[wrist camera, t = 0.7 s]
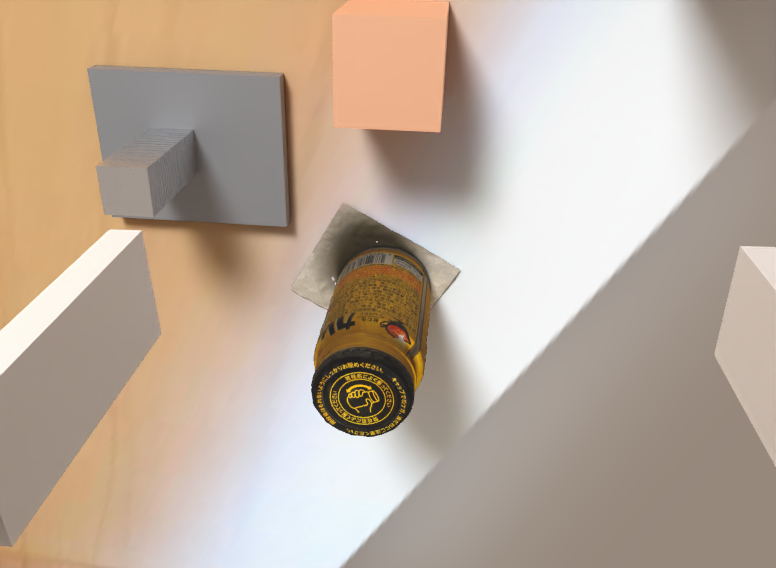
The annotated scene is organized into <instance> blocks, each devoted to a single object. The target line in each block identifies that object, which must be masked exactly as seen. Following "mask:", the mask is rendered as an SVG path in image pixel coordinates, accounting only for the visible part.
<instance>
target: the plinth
mask: <svg viewBox="0 0 776 568" xmlns="http://www.w3.org/2000/svg"><path fill="white" fill-rule="evenodd" d="M87 70H88V76H89V82H90V88H91V94H92V100H93V105H94V111H95V117H96V123H97V129H98V135H99V141H100V147H101V153H102V159H103V160H105V159H106V158H107V157H109V156H110V155H112V154H113V153H114V152H116V151H117V150H119V149H120V148H122V147H123V146H124V145H126V144H127V143H129V142H130V141H131V140H133V139H134V138H136V137H137V136H138V135H140V134H141V133H143V132H144V131H146V130H147V129H148V128H150V127H153V128H174V129H194V137H195V147H196V156H197V166H198V173H197V174H196V175H195V176H194V177H193V178H192V179H191V180H190V181H189V182H188V183H187V184H186V185H185V186H184V187H183V188H182V189H181V190H180V191H179V192H178V193H177V194H176V195H175V196H174V197H173V198H172V199H171V200H170V201H169V202H168V203H167V204H166V205H165V206H164V207H163V208H162V209H161V210H160V211H159V212H158V213H157V214H156V215H155V217H140V216H123V215H112V217H124V218H142V219H159V220H176V221H194V222H211V223H228V224H246V225H263V226H281V227H287V225H288V223H289V222H290V208H289V186H288V163H287V141H286V119H285V96H284V74H283V73H266V72H243V71H219V70H196V69H172V68H148V67H125V66H101V65H95V66H92V67H90V68H88V69H87Z"/></svg>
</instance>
